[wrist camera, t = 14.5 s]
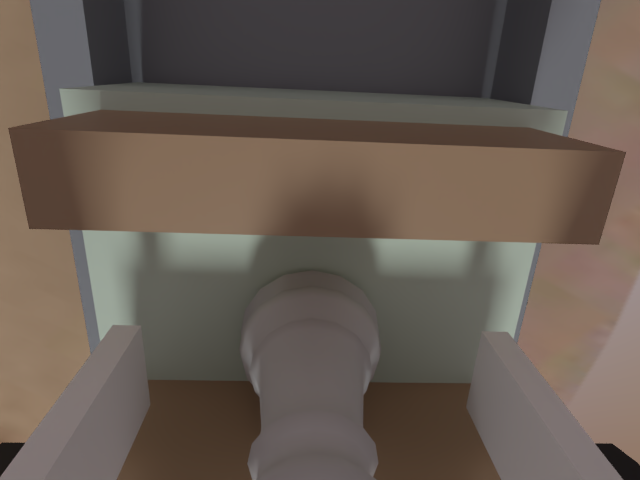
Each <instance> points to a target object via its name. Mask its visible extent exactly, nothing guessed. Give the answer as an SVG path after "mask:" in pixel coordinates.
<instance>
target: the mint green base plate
mask: <svg viewBox="0 0 640 480" xmlns="http://www.w3.org/2000/svg"><path fill="white" fill-rule="evenodd" d="M59 90H60V96H61V102H62V109H63V115H64V117H61V118H56V119H51V120H46V121H41V122H36V123H31V124H26V125H21V126H16V127H11V128H8V129H9V134H10V138H11V143H12V148H13V153H14V158H15V162H16V167H17V172H18V177H19V182H20V186H21V191H22V196H23V201H24V206H25V210H26V215H27V220H28V225H29V229H58V230H82V232H83V238H84V244H85V251H86V257H87V263H88V269H89V275H90V281H91V288H92V294H93V300H94V306H95V312H96V319H97V325H98V331H99V337H100V342H101V340H102V339H103V338H104V336H105V335H106V333H107V332H108V331H109V329H110V328H111V327H112V325H141V330H142V338H143V346H144V355H145V363H146V371H147V379H148V388H149V396H150V404H151V405H150V407H149V409H148V411H147V413H146V416H145V418H144V420H143V422H142V425H141V427H140V429H139V431H138V433H137V436H136V438H135V440H134V442H133V444H132V447H131V449H130V451H129V453H128V455H127V458H126V460H125V462H124V464H123V466H122V469H121V471H120V473H119V475H118V478H117V480H252V477H251V474H250V471H249V467H248V464H247V462H248V458H249V454H250V449H251V445H252V443H253V442H254V441H255V439H256V438H257V437H258V436H259V435H260V434H261V413H260V397H259V396H258V395H257V394H256V393H255V391H254V388H253V385H252V384H251V383H250V381H249V380H248V379H247V376H246V373H245V369H244V366H243V362H242V358H241V355H240V350H239V347H240V342H241V337H242V336H241V329H242V323H243V318H244V313H245V309H246V308H247V306H248V305H249V304H250V302H251V301H252V299H253V298H254V297H255V295H256V294H257V293H258V291H259V290H260V289H261V288H263V287H264V286H266V285H268V284H269V283H271V282H273V281H275V280H276V279H278V278H280V277H281V276H283V275H287V274H293V273H299V272H305V271H311V270H313V271H318V272H323V273H328V274H333V275H338V276H341V277H342V278H344V279H346V280H347V281H349V282H350V283H352V284H353V285H355V286H356V287H358V288H360V289H361V290H362V291H363V292H364V294H365V295H366V297H367V298H368V300H369V301H370V303H371V304H372V306H373V307H374V309H375V310H376V316H377V323H378V330H379V337H380V344H381V354H380V358H379V361H378V364H377V367H376V370H375V373H374V376H373V379H372V380H371V381H370V382H369V385H368V388H367V391H366V392H365V394H364V395H363V428H364V429H365V431H366V432H367V433H368V435H369V436H370V437H371V439H372V440H373V441H374V442H375V444H376V450H377V457H378V465H377V468H376V471H375V473H374V476H373V477H374V478H375V479H376V480H501V478H500V476H499V474H498V472H497V470H496V468H495V466H494V464H493V462H492V460H491V458H490V456H489V454H488V452H487V449H486V447H485V445H484V443H483V441H482V439H481V437H480V435H479V433H478V431H477V429H476V427H475V425H474V423H473V421H472V418H471V416H470V414H469V412H468V410H467V408H466V405H467V400H468V395H469V390H470V386H471V381H472V376H473V371H474V366H475V361H476V357H477V352H478V347H479V342H480V337H481V333H482V331H489V332H508V333H509V334H510V335H511V337H512V338H513V339H514V335H515V330H516V326H517V322H518V318H519V314H520V310H521V305H522V301H523V297H524V293H525V289H526V285H527V280H528V276H529V272H530V268H531V264H532V260H533V255H534V251H535V247H536V243H559V244H595V245H599V242H600V239H601V235H602V232H603V229H604V225H605V222H606V219H607V215H608V212H609V208H610V205H611V202H612V198H613V195H614V191H615V188H616V185H617V181H618V178H619V175H620V171H621V168H622V164H623V161H624V158H625V154H626V152H623V151H619V150H615V149H611V148H607V147H604V146H600V145H596V144H592V143H588V142H584V141H580V140H576V139H572V138H569V137H565V136H562V134H563V130H564V126H565V122H566V118H567V114H568V111H566V110H559V109H553V108H546V107H540V106H534V105H527V104H521V103H515V102H508V101H502V100H496V99H489V98H476V97H454V96H432V95H410V94H387V93H365V92H343V91H321V90H298V89H276V88H254V87H232V86H209V85H187V84H165V83H143V82H135V83H123V84H110V85H98V86H85V87H73V88H61V89H59Z"/></svg>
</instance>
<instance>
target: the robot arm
mask: <svg viewBox="0 0 640 480" xmlns="http://www.w3.org/2000/svg"><path fill="white" fill-rule="evenodd" d="M150 405H151V404H150V396H149V388H148V379H147V371H146V363H145V355H144V346H143V338H142V330H141V325H112V327H111V328H110V329H109V331H108V332H107V333H106V335H105V336H104V338H103V339H102V340H101V342H100V343H99V344H98V346H97V347H96V348H95V350H94V351H93V352H92V354H91V355H90V356H89V358H88V359H87V360H86V362H85V363H84V365H83V366H82V367H81V369H80V370H79V371H78V373H77V374H76V375H75V377H74V378H73V379H72V381H71V382H70V383H69V385H68V386H67V387H66V389H65V390H64V392H63V393H62V394H61V396H60V397H59V398H58V400H57V401H56V402H55V404H54V405H53V406H52V408H51V409H50V410H49V412H48V413H47V414H46V416H45V417H44V419H43V420H42V421H41V423H40V424H39V425H38V427H37V428H36V429H35V431H34V432H33V433H32V435H31V436H30V437H29V439H28V440H27V441H26V443H1V444H0V480H117V478H118V475H119V473H120V471H121V469H122V466H123V464H124V462H125V460H126V458H127V455H128V453H129V451H130V449H131V447H132V444H133V442H134V440H135V438H136V436H137V433H138V431H139V429H140V427H141V425H142V422H143V420H144V418H145V416H146V413H147V411H148V409H149V407H150ZM466 408H467V410H468V412H469V414H470V416H471V418H472V421H473V423H474V425H475V427H476V429H477V431H478V433H479V435H480V437H481V439H482V441H483V443H484V445H485V447H486V449H487V452H488V454H489V456H490V458H491V460H492V462H493V464H494V466H495V468H496V470H497V472H498V474H499V476H500V478H501V480H640V465H639V464H638V463H637V462H636V461H634V460H633V459H632V458H630V457H629V456H627V455H626V454H625V453H624V452H622V451H621V450H620V449H619V448H617V447H616V446H615V445H613V444H595V443H594V442H593V441H592V439H591V438H590V437H589V435H588V434H587V433H586V432H585V430H584V429H583V428H582V426H581V425H580V424H579V422H578V421H577V420H576V419H575V417H574V416H573V415H572V414H571V412H570V411H569V410H568V408H567V407H566V406H565V405H564V403H563V402H562V401H561V399H560V398H559V397H558V396H557V394H556V393H555V392H554V390H553V389H552V388H551V387H550V385H549V384H548V383H547V382H546V380H545V379H544V378H543V376H542V375H541V374H540V373H539V371H538V370H537V369H536V367H535V366H534V365H533V364H532V362H531V361H530V360H529V358H528V357H527V356H526V355H525V353H524V352H523V351H522V350H521V348H520V347H519V346H518V344H517V343H516V342H515V341H514V339H513V338H512V337H511V335H510V334H509V333H508V332H489V331H482V333H481V337H480V342H479V347H478V352H477V357H476V361H475V366H474V371H473V376H472V381H471V386H470V390H469V395H468V400H467V405H466Z"/></svg>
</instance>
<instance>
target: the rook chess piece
mask: <svg viewBox="0 0 640 480" xmlns="http://www.w3.org/2000/svg"><path fill="white" fill-rule="evenodd" d="M241 336H242V337H241V342H240V347H239V350H240V355H241V358H242V362H243V366H244V369H245V373H246V376H247V379H248V380H249V381H250V383H251V384H252V385H253V388H254V391H255V393H256V394H257V395H258V396H259V397H260V413H261V434H260V435H259V436H258V437H257V438H256V439H255V441H254V442H253V443H252V445H251V449H250V454H249V458H248V462H247V464H248V467H249V471H250V474H251V477H252V480H376V479H375V478H374V477H373V476H374V473H375V471H376V468H377V465H378V457H377V450H376V444H375V442H374V441H373V440H372V439H371V437H370V436H369V435H368V433H367V432H366V431H365V429H364V428H363V395H364V394H365V392H366V391H367V388H368V385H369V382H370V381H371V380H372V379H373V376H374V373H375V370H376V367H377V364H378V361H379V358H380V354H381V344H380V337H379V330H378V323H377V316H376V310H375V309H374V307H373V306H372V304H371V303H370V301H369V300H368V298H367V297H366V295H365V294H364V292H363V291H362V290H361V289H360V288H358V287H356V286H355V285H353V284H352V283H350V282H349V281H347V280H346V279H344V278H342V277H341V276H338V275H333V274H328V273H323V272H318V271H313V270H311V271H305V272H299V273H293V274H287V275H283V276H281V277H280V278H278V279H276V280H275V281H273V282H271V283H269V284H268V285H266V286H264V287H263V288H261V289H260V290H259V291H258V293H257V294H256V295H255V297H254V298H253V299H252V301H251V302H250V304H249V305H248V306H247V308H246V309H245V313H244V318H243V323H242V329H241Z"/></svg>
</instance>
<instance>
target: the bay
mask: <svg viewBox="0 0 640 480" xmlns="http://www.w3.org/2000/svg"><path fill="white" fill-rule="evenodd" d="M600 2H601V0H30V5H31V11H32V17H33V22H34V28H35V34H36V40H37V46H38V51H39V57H40V63H41V69H42V74H43V80H44V86H45V92H46V98H47V103H48V109H49V115H50V120H51V119H56V118H61V117H64V115H63V109H62V102H61V96H60V90H59V89H61V88H73V87H85V86H98V85H110V84H123V83H135V82H143V83H165V84H187V85H209V86H232V87H254V88H276V89H298V90H321V91H343V92H365V93H387V94H410V95H432V96H454V97H476V98H489V99H496V100H502V101H508V102H515V103H521V104H527V105H534V106H540V107H546V108H553V109H559V110H566V111H568V114H567V118H566V122H565V126H564V130H563V134H562V136H565V137H568V133H569V129H570V125H571V121H572V117H573V113H574V108H575V104H576V100H577V96H578V92H579V88H580V84H581V80H582V76H583V72H584V67H585V63H586V59H587V55H588V51H589V47H590V43H591V39H592V35H593V31H594V27H595V22H596V18H597V14H598V10H599V6H600ZM70 236H71V242H72V248H73V254H74V259H75V265H76V271H77V277H78V282H79V288H80V294H81V300H82V306H83V311H84V317H85V323H86V329H87V334H88V340H89V346H90V352H91V354H92V352H93V351H94V350H95V348H96V347H97V346H98V344H99V343H100V337H99V331H98V325H97V319H96V312H95V306H94V300H93V294H92V288H91V281H90V275H89V269H88V263H87V257H86V251H85V244H84V238H83V232H82V230H70ZM541 244H542V243H536V247H535V251H534V255H533V260H532V264H531V268H530V272H529V276H528V280H527V285H526V289H525V293H524V297H523V301H522V305H521V310H520V314H519V318H518V322H517V326H516V330H515V335H514V341H515V342H516V343H517V342H518V338H519V334H520V329H521V325H522V321H523V317H524V313H525V309H526V305H527V301H528V297H529V293H530V289H531V284H532V280H533V276H534V272H535V268H536V264H537V260H538V256H539V252H540V248H541Z"/></svg>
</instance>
